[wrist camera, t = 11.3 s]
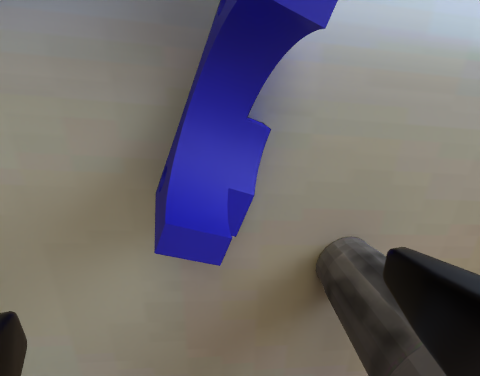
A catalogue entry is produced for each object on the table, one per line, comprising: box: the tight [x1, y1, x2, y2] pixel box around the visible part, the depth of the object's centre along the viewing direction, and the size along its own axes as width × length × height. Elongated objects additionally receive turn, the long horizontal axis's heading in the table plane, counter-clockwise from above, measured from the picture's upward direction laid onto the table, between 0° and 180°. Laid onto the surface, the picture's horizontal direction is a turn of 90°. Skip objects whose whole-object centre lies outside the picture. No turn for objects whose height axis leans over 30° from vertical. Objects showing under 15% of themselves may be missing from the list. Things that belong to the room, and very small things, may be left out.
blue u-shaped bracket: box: [155, 0, 338, 266], centre depth 15 cm, size 12×4×6 cm, turn 158°
